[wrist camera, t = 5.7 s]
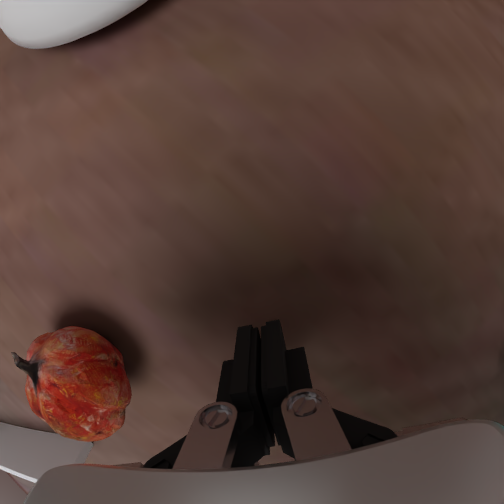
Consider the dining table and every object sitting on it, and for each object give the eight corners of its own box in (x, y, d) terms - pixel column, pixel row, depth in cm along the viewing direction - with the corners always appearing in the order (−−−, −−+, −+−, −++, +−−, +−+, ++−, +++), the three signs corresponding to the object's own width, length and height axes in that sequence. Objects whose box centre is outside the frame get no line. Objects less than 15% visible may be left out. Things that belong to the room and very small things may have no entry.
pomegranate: (169, 357, 16) (82, 294, 10) (162, 453, 13) (57, 443, 7) (93, 353, 17) (5, 298, 11) (82, 436, 14) (-20, 408, 8)
